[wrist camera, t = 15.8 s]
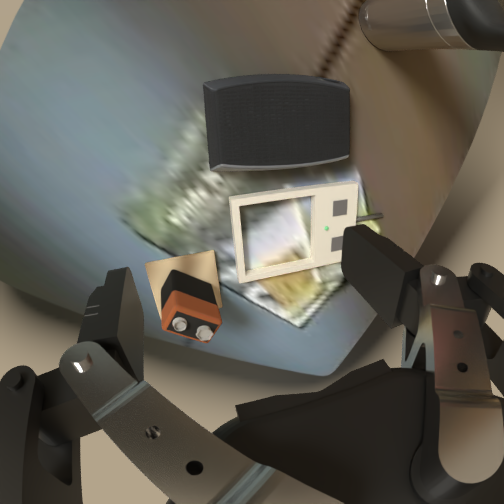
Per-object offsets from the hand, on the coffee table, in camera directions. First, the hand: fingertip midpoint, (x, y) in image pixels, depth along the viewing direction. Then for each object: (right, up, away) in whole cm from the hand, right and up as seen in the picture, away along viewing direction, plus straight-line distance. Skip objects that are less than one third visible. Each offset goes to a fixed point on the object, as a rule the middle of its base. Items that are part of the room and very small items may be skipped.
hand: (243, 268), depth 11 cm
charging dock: (+10, +5, +36) cm, 37 cm away
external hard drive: (+4, +18, +28) cm, 33 cm away
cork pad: (-10, -4, +35) cm, 36 cm away
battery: (-9, -4, +34) cm, 36 cm away
